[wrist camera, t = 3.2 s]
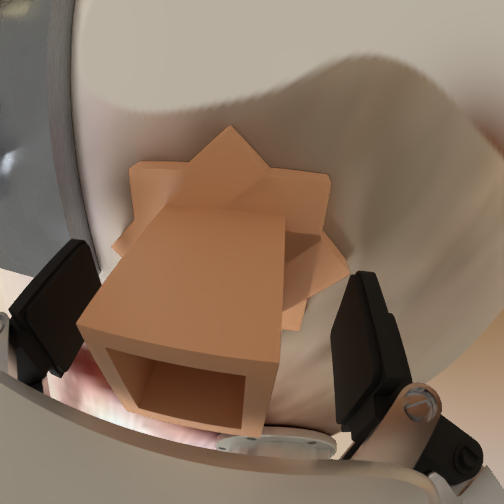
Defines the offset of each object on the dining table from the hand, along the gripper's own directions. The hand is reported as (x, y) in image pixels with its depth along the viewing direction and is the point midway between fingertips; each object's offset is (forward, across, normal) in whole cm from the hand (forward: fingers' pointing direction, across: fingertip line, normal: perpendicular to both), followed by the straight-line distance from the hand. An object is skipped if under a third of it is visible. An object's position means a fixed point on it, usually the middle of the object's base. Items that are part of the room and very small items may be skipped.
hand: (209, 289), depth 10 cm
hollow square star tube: (+3, 0, 0) cm, 3 cm away
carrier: (+3, +14, -9) cm, 17 cm away
